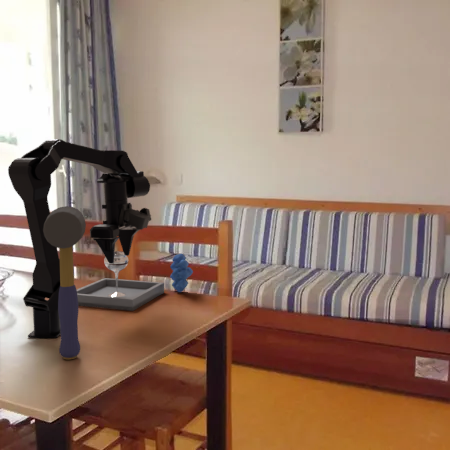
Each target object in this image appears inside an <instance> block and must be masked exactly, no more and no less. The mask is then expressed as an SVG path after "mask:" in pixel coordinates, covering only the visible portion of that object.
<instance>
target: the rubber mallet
mask: <svg viewBox="0 0 450 450" xmlns="http://www.w3.org/2000/svg"><path fill="white" fill-rule="evenodd" d="M86 225H87V224H86V219H85V216H84V214H83V212H82V211H80V210H79V209H78V208H75V207H73V206H68V205H66V206H60V207H58V208H55V209H54V210H52V211H50V214H49V215H48V217H47V219H46V221H45V223H44V228H43V232H44V236H45V238H46V240H47V241H48V242H49V243H50V244H51V245H52V246H55V247H57V249H59V251H58V252H59V259H60V289H59V299H58V312H59V319H60V329H61V334H60V343H59V348H58V349H59V354H60V356H61V358H62V360H69V361H70V360H74V359H77V358H78V355H79V354H80V352H81V344H80V341H79V340H80V339H79V332H78V331H79V330H78V329H79V327H78V323H79V321H78V320H79V319H78V318H79V306H78V297H77V287H76V285H75V275H74V274H75V273H74V255H73V254H74V249H73V246H75V245H76V244H78V242H79V241H81V239H82V238H83V237H84V235H85V233H86Z"/></svg>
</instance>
